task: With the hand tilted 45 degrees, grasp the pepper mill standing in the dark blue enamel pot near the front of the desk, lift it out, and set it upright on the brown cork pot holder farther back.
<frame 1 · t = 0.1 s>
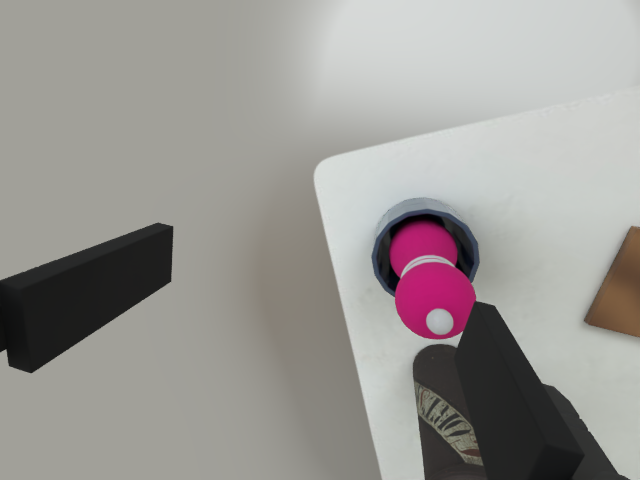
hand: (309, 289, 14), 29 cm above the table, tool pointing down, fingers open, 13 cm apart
container: (443, 369, 46), on the table
pepper mill: (419, 240, 42), resting on pot
pot: (419, 240, 42), on the table
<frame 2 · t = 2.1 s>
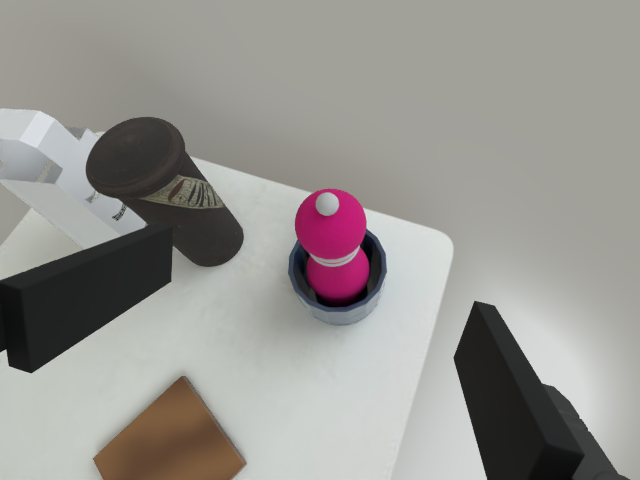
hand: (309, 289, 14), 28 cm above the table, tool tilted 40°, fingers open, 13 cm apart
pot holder: (171, 460, 37), on the table
container: (214, 241, 48), on the table
pepper mill: (339, 282, 43), resting on pot
pot: (340, 283, 43), on the table
grater: (131, 222, 51), on the table
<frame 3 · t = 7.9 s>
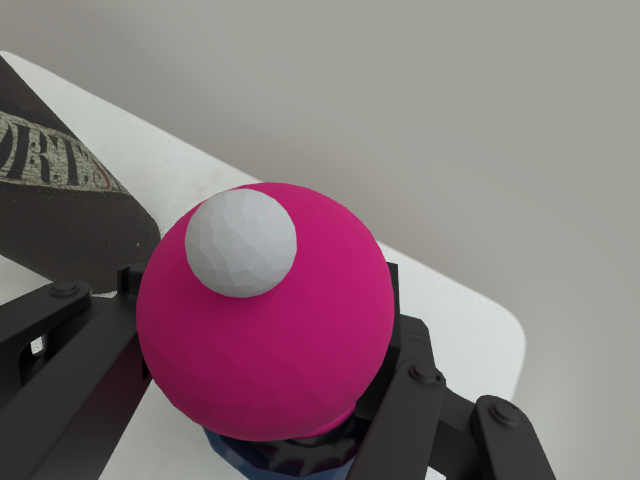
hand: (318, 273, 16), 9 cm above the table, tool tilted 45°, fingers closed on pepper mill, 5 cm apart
container: (109, 249, 28), on the table
pepper mill: (306, 372, 23), resting on pot, touching gripper
pot: (306, 372, 23), on the table
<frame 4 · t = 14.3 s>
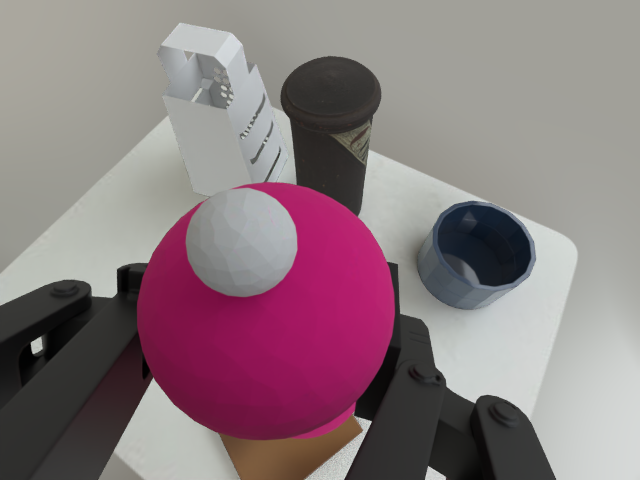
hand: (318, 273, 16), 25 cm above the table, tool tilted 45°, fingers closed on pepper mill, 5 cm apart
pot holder: (281, 413, 35), on the table
container: (329, 206, 47), on the table
pepper mill: (307, 372, 23), point 15 cm above the table, touching gripper
pot: (460, 267, 42), on the table
grater: (243, 173, 50), on the table
when the fingers open (10 cm above the table, at t = 20.7 s): pepper mill moves 5 cm, point 1 cm above the table.
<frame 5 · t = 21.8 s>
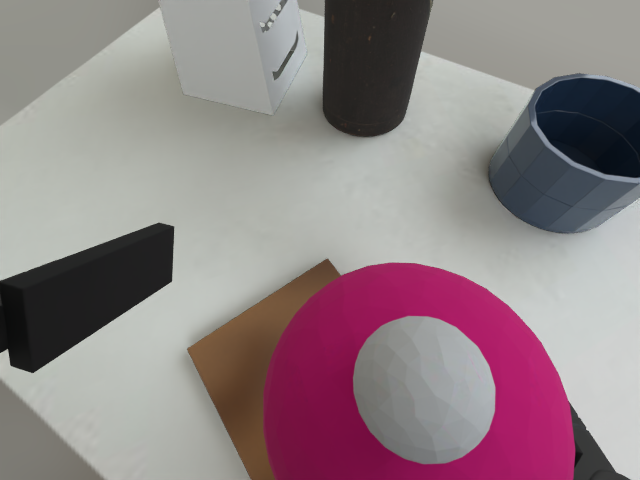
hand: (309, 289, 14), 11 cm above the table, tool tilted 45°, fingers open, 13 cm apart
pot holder: (306, 373, 24), on the table
container: (362, 110, 35), on the table
pepper mill: (384, 417, 21), point 1 cm above the table, touching gripper
pot: (548, 181, 31), on the table
grater: (248, 74, 38), on the table
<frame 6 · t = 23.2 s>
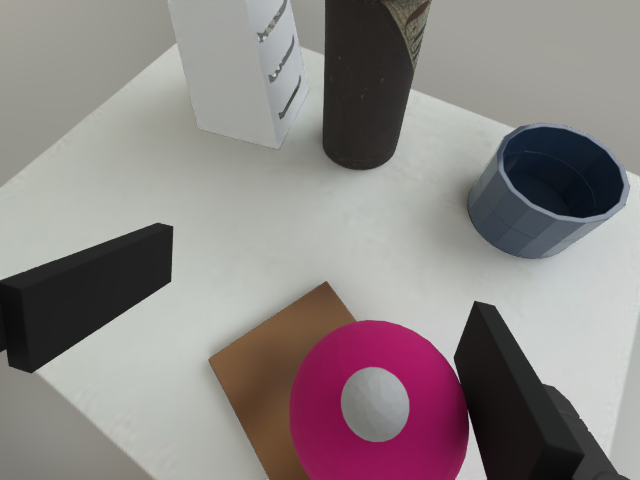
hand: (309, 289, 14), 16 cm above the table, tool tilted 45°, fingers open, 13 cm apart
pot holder: (308, 380, 28), on the table
container: (358, 145, 40), on the table
pepper mill: (376, 418, 26), point 1 cm above the table, touching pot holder
pot: (519, 212, 35), on the table
grater: (255, 110, 43), on the table
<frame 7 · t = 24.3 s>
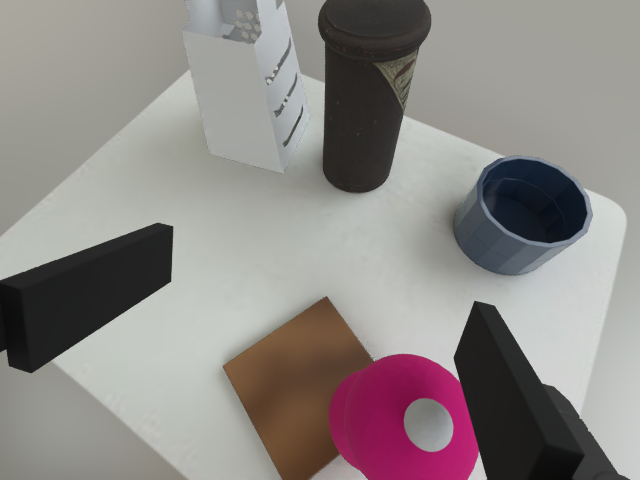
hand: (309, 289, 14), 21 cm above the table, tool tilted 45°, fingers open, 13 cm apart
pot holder: (311, 384, 32), on the table
container: (355, 169, 44), on the table
pepper mill: (368, 417, 30), point 1 cm above the table, touching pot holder
pot: (500, 232, 39), on the table
grater: (261, 136, 47), on the table
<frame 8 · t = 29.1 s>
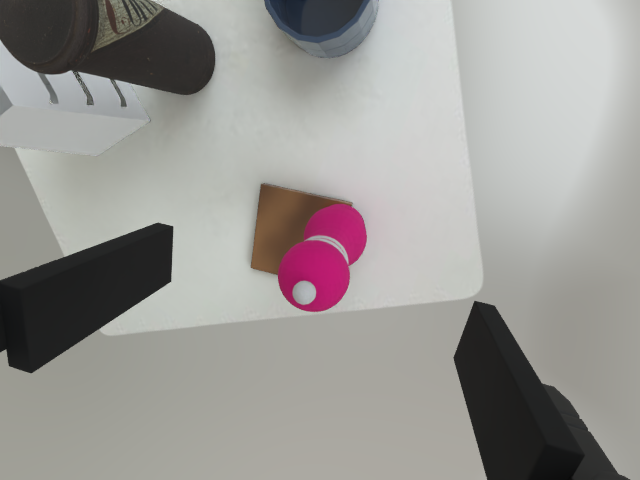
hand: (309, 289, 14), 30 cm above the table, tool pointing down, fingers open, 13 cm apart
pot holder: (299, 235, 46), on the table
container: (186, 60, 42), on the table
pepper mill: (340, 227, 43), point 1 cm above the table, touching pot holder
pot: (329, 4, 37), on the table
grater: (103, 103, 46), on the table
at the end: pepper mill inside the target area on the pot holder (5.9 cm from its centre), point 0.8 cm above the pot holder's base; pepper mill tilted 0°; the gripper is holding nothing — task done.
